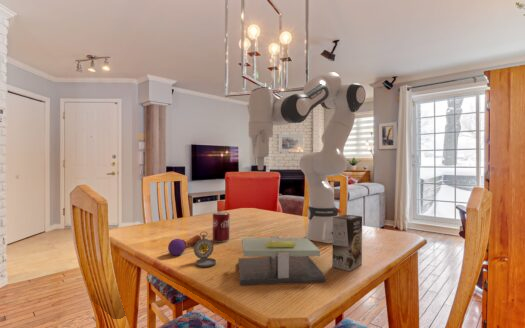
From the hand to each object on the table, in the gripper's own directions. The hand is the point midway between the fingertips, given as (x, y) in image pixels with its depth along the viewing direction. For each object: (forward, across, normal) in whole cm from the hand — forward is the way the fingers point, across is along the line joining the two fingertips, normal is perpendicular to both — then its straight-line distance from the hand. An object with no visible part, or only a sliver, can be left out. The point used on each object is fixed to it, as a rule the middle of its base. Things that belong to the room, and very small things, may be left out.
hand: (260, 169), depth 103 cm
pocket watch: (+31, -6, +19) cm, 37 cm away
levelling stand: (+31, -16, -4) cm, 35 cm away
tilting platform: (+24, -16, -4) cm, 29 cm away
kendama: (+32, +11, +28) cm, 44 cm away
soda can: (+31, +22, +15) cm, 41 cm away
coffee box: (+31, -13, -28) cm, 44 cm away
